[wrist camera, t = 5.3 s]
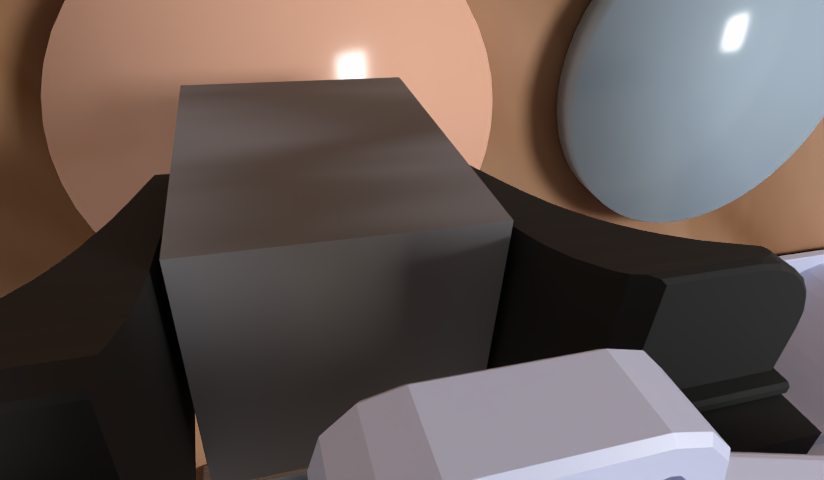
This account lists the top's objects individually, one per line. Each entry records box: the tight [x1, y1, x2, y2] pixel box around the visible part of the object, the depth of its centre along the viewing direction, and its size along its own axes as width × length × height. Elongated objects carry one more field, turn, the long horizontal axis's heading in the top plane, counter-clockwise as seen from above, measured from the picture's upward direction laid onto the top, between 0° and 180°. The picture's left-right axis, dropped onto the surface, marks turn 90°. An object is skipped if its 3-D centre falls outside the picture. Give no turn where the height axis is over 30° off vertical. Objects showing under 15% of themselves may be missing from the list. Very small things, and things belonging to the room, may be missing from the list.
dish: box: [41, 0, 493, 233], centre depth 15 cm, size 11×11×1 cm
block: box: [159, 77, 514, 480], centre depth 11 cm, size 4×4×6 cm
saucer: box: [557, 0, 824, 223], centre depth 18 cm, size 10×10×1 cm
